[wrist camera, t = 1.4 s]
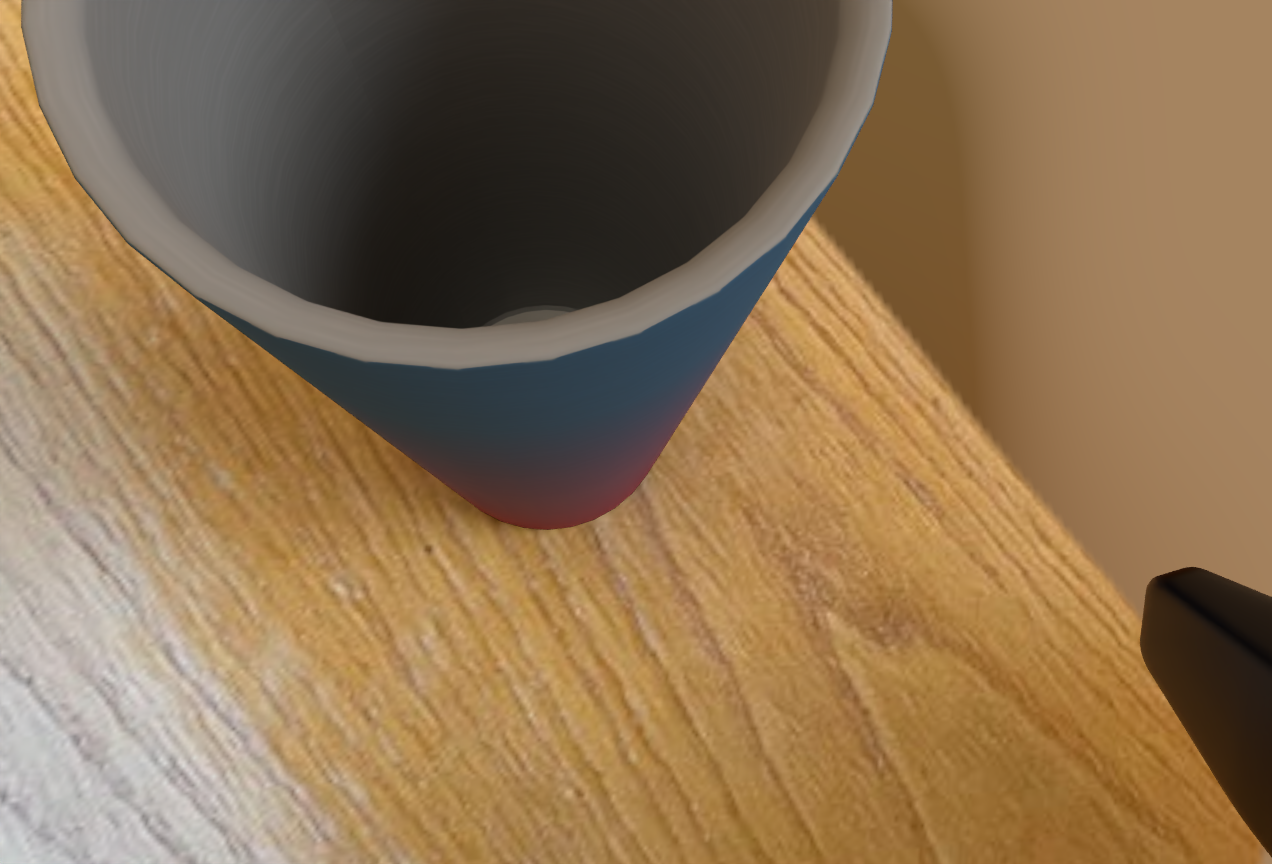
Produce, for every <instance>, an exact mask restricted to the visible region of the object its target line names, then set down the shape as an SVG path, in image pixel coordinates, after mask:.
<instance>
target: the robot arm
mask: <svg viewBox="0 0 1272 864" xmlns="http://www.w3.org/2000/svg"><path fill="white" fill-rule="evenodd" d="M1140 647H1141V653H1142V656H1143V659H1144V661H1145V664H1146V666H1147V668H1148V670H1149V671H1150V673H1151V675H1152V676H1153V678H1154V679H1155V681H1156V683H1157V684H1158V686H1159V687H1160V689H1161V691H1162V692H1163V694H1164V696H1165V697H1166V699H1167V700H1168V702H1169V704H1170V705H1171V707H1172V708H1173V710H1174V712H1175V713H1176V715H1177V716H1178V718H1179V720H1180V721H1181V723H1182V725H1183V726H1184V728H1185V729H1186V731H1187V733H1188V734H1189V736H1190V737H1191V739H1192V741H1193V742H1194V744H1195V746H1196V747H1197V749H1198V750H1199V752H1200V754H1201V755H1202V757H1203V758H1204V760H1205V762H1206V763H1207V765H1208V766H1209V768H1210V770H1211V771H1212V773H1213V775H1214V776H1215V778H1216V779H1217V781H1218V783H1219V784H1220V786H1221V787H1222V789H1223V791H1224V792H1225V794H1226V795H1227V797H1228V798H1229V800H1230V801H1231V803H1232V804H1233V806H1234V807H1235V809H1236V810H1237V812H1238V813H1239V815H1240V816H1241V817H1242V819H1243V820H1244V821H1245V823H1246V824H1247V825H1248V827H1249V828H1250V830H1251V831H1252V832H1253V834H1254V835H1255V836H1256V838H1257V839H1258V840H1259V842H1260V843H1261V844H1262V845H1263V847H1264V848H1265V849H1266V851H1267V852H1268V853H1269V855H1270V856H1271V857H1272V597H1270V596H1268V595H1265V594H1263V593H1260V592H1258V591H1256V590H1253V589H1251V588H1248V587H1246V586H1243V585H1241V584H1238V583H1236V582H1234V581H1231V580H1229V579H1226V578H1224V577H1222V576H1219V575H1217V574H1214V573H1212V572H1209V571H1207V570H1204V569H1201V568H1196V567H1187V568H1183V569H1180V570H1176V571H1173V572H1169V573H1166V574H1163V575H1160V576H1157V577H1155V578H1153V579H1152V580H1151V581H1150V583H1149V584H1148V585H1147V589H1146V595H1145V604H1144V611H1143V620H1142V628H1141V636H1140Z"/></svg>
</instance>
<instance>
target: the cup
mask: <svg viewBox="0 0 1272 864" xmlns="http://www.w3.org/2000/svg"><path fill="white" fill-rule="evenodd" d="M21 28H22V32H23V37H24V41H25V45H26V50H27V54H28V58H29V63H30V67H31V71H32V76H33V80H34V85H35V89H36V93H37V98H38V102H39V106H40V108H41V110H42V112H43V114H44V116H45V118H46V120H47V122H48V124H49V126H50V129H51V131H52V133H53V135H54V137H55V139H56V141H57V143H58V145H59V147H60V149H61V151H62V153H63V155H64V157H65V159H66V161H67V163H68V165H69V167H70V169H71V171H72V173H73V175H74V177H75V179H76V180H77V182H78V183H79V184H80V185H81V186H82V188H83V189H84V190H85V191H86V193H87V194H88V195H89V196H90V198H91V199H92V200H93V201H94V203H95V204H96V205H97V206H98V207H99V209H100V210H101V211H102V212H103V214H104V215H105V216H106V217H107V219H108V220H109V221H110V222H111V224H112V225H113V226H114V227H115V228H116V230H117V231H118V232H119V233H120V235H121V236H122V237H123V238H124V240H125V241H126V242H127V243H128V244H129V245H130V246H131V247H133V248H134V249H135V250H136V251H138V252H139V253H140V254H141V255H143V256H144V257H145V258H146V259H148V260H149V261H150V262H151V263H153V264H154V265H155V266H156V267H158V268H159V269H160V270H161V271H163V272H164V273H165V274H166V275H168V276H169V277H170V278H171V279H173V280H174V281H175V282H176V283H178V284H179V285H180V286H181V287H183V288H184V289H185V290H186V291H188V292H189V293H190V294H191V295H193V296H194V297H195V298H196V299H198V300H199V301H200V302H202V303H203V304H204V305H206V306H207V307H208V308H210V309H211V310H212V311H214V312H215V313H216V314H218V315H219V316H220V317H222V318H223V319H224V320H226V321H227V322H228V323H230V324H231V325H233V326H234V327H235V328H237V329H238V330H239V331H241V332H242V333H243V334H245V335H246V336H247V337H249V338H250V339H251V340H253V341H254V342H255V343H257V344H258V345H259V346H261V347H262V348H263V349H265V350H266V351H267V352H269V353H270V354H271V355H273V356H274V357H275V358H277V359H278V360H279V361H281V362H282V363H283V364H285V365H286V366H287V367H289V368H290V369H291V370H293V371H294V372H295V373H297V374H298V375H300V376H301V377H302V378H304V379H305V380H306V381H308V382H309V383H310V384H312V385H313V386H314V387H316V388H317V389H318V390H320V391H321V392H322V393H324V394H325V395H326V396H328V397H329V398H330V399H332V400H333V401H334V402H336V403H337V404H338V405H340V406H341V407H342V408H344V409H345V410H346V411H348V412H349V413H350V414H352V415H353V416H354V417H356V418H357V419H358V420H360V421H361V422H363V423H364V424H365V425H367V426H368V427H369V428H371V429H372V430H373V431H375V432H376V433H377V434H379V435H380V436H381V437H383V438H384V439H385V440H387V441H388V442H389V443H391V444H392V445H393V446H395V447H396V448H397V449H399V450H400V451H401V452H403V453H404V454H405V455H407V456H408V457H409V458H411V459H412V460H413V461H415V462H416V463H417V464H419V465H420V466H421V467H423V468H424V469H426V470H427V471H428V472H430V473H431V474H432V475H434V476H435V477H436V478H438V479H439V480H440V481H442V482H443V483H444V484H446V485H447V486H448V487H450V488H451V489H452V490H454V491H455V492H456V493H458V494H459V495H460V496H462V497H463V498H464V499H466V500H467V501H468V502H470V503H471V504H472V505H474V506H475V507H476V508H478V509H479V510H480V511H482V512H484V513H486V514H488V515H490V516H492V517H494V518H496V519H498V520H500V521H502V522H506V523H509V524H513V525H516V526H520V527H523V528H533V529H546V530H549V529H558V528H567V527H573V526H576V525H579V524H582V523H585V522H588V521H591V520H594V519H596V518H598V517H600V516H601V515H603V514H605V513H607V512H609V511H611V510H612V509H614V508H615V507H617V506H618V505H619V504H620V503H621V502H623V501H624V500H625V499H626V498H627V497H628V496H630V495H631V494H632V493H633V492H634V490H635V489H636V488H637V487H638V485H639V484H640V483H641V482H642V480H643V479H644V478H645V477H646V475H647V474H648V472H649V471H650V469H651V467H652V466H653V464H654V463H655V461H656V460H657V458H658V457H659V455H660V453H661V452H662V450H663V449H664V447H665V446H666V444H667V442H668V441H669V439H670V438H671V436H672V435H673V433H674V431H675V430H676V428H677V427H678V425H679V424H680V422H681V420H682V419H683V417H684V416H685V414H686V413H687V411H688V409H689V408H690V406H691V405H692V403H693V402H694V400H695V398H696V397H697V395H698V394H699V392H700V391H701V389H702V387H703V386H704V384H705V383H706V381H707V380H708V378H709V376H710V375H711V373H712V372H713V370H714V369H715V367H716V366H717V364H718V362H719V361H720V359H721V358H722V356H723V355H724V353H725V351H726V350H727V348H728V347H729V345H730V344H731V342H732V340H733V339H734V337H735V336H736V334H737V333H738V331H739V329H740V328H741V326H742V325H743V323H744V322H745V320H746V318H747V317H748V315H749V314H750V312H751V311H752V309H753V307H754V306H755V304H756V303H757V301H758V300H759V298H760V296H761V295H762V293H763V292H764V290H765V289H766V287H767V285H768V284H769V282H770V281H771V279H772V278H773V276H774V275H775V273H776V271H777V270H778V268H779V267H780V265H781V264H782V262H783V260H784V259H785V257H786V256H787V254H788V253H789V251H790V249H791V248H792V246H793V245H794V243H795V242H796V240H797V238H798V237H799V235H800V234H801V232H802V231H803V229H804V227H805V226H806V224H807V223H808V221H809V220H810V218H811V216H812V215H813V213H814V212H815V210H816V208H817V207H818V205H819V204H820V202H821V201H822V199H823V197H824V196H825V194H826V193H827V191H828V190H829V188H830V187H831V185H832V184H833V182H834V180H835V179H836V177H837V176H838V174H839V172H840V170H841V168H842V166H843V164H844V162H845V160H846V158H847V156H848V154H849V152H850V150H851V148H852V146H853V144H854V142H855V140H856V138H857V136H858V134H859V132H860V130H861V128H862V126H863V124H864V122H865V120H866V118H867V116H868V114H869V112H870V110H871V108H872V106H873V104H874V100H875V96H876V91H877V87H878V83H879V80H880V76H881V72H882V68H883V63H884V60H885V56H886V52H887V48H888V44H889V40H890V36H891V32H892V0H22V2H21Z"/></svg>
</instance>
